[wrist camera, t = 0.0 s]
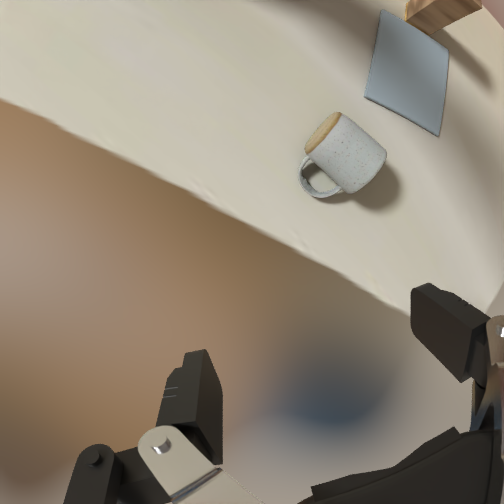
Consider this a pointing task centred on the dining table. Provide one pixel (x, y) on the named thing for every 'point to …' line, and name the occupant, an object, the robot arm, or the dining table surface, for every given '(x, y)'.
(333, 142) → the ceramic mug
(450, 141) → the dining table surface
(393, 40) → the slate mat
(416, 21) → the walnut block
